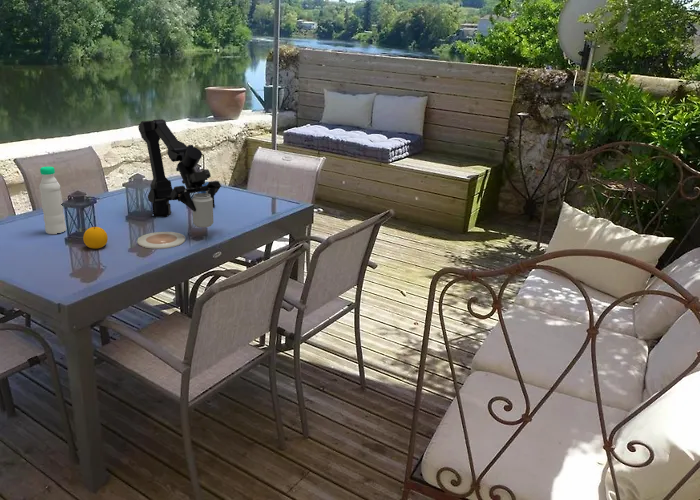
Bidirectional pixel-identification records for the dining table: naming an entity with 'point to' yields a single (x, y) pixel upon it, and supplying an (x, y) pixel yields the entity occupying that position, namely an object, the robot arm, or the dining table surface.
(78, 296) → the dining table surface
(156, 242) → the saucer
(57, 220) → the milk bottle
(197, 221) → the can
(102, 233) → the orange
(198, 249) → the dining table surface
